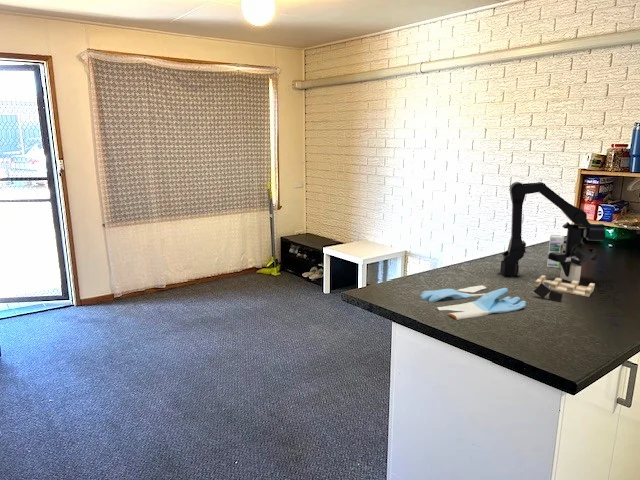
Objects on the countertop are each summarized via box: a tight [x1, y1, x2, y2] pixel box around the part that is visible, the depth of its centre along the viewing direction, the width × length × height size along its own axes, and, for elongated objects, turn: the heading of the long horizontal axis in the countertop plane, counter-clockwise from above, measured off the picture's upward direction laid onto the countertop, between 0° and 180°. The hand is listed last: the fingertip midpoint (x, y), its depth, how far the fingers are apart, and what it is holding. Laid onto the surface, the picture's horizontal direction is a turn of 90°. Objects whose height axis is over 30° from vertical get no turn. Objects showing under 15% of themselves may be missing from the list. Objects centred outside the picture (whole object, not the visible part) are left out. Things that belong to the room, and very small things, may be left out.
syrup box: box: [546, 234, 565, 269], centre depth 213 cm, size 6×6×14 cm
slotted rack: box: [533, 274, 596, 298], centre depth 181 cm, size 12×19×2 cm, turn 52°
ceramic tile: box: [559, 263, 582, 283], centre depth 191 cm, size 2×8×7 cm, turn 12°
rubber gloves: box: [419, 284, 527, 321], centre depth 165 cm, size 27×33×6 cm
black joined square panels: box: [533, 282, 564, 302], centre depth 168 cm, size 9×2×6 cm
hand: (570, 276), depth 192 cm, fingers closed on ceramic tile, 2 cm apart
